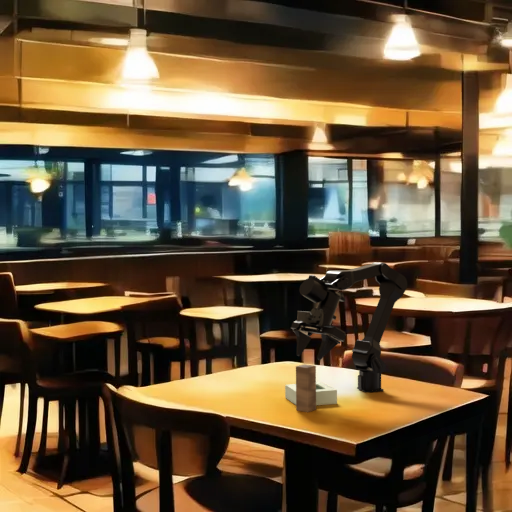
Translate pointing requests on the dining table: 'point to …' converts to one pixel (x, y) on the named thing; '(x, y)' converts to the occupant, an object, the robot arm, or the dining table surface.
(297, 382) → the walnut block
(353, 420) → the dining table surface
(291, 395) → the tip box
